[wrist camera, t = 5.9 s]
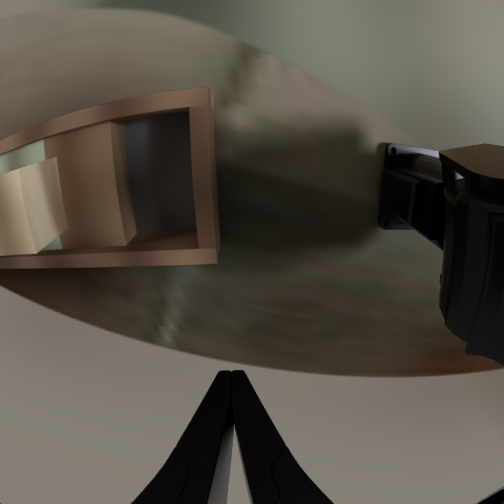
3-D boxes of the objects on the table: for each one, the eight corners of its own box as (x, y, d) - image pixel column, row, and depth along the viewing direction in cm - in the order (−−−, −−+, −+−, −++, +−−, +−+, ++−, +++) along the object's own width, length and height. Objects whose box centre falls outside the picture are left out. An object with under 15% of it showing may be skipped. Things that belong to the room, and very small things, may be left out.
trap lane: (213, 95, 15) (208, 87, 12) (220, 240, 19) (217, 263, 16) (-19, 156, 14) (-43, 164, 11) (0, 252, 19) (-20, 268, 15)
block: (56, 156, 14) (18, 168, 10) (68, 228, 16) (36, 253, 12) (11, 170, 13) (-25, 184, 10) (23, 233, 16) (-7, 256, 12)
